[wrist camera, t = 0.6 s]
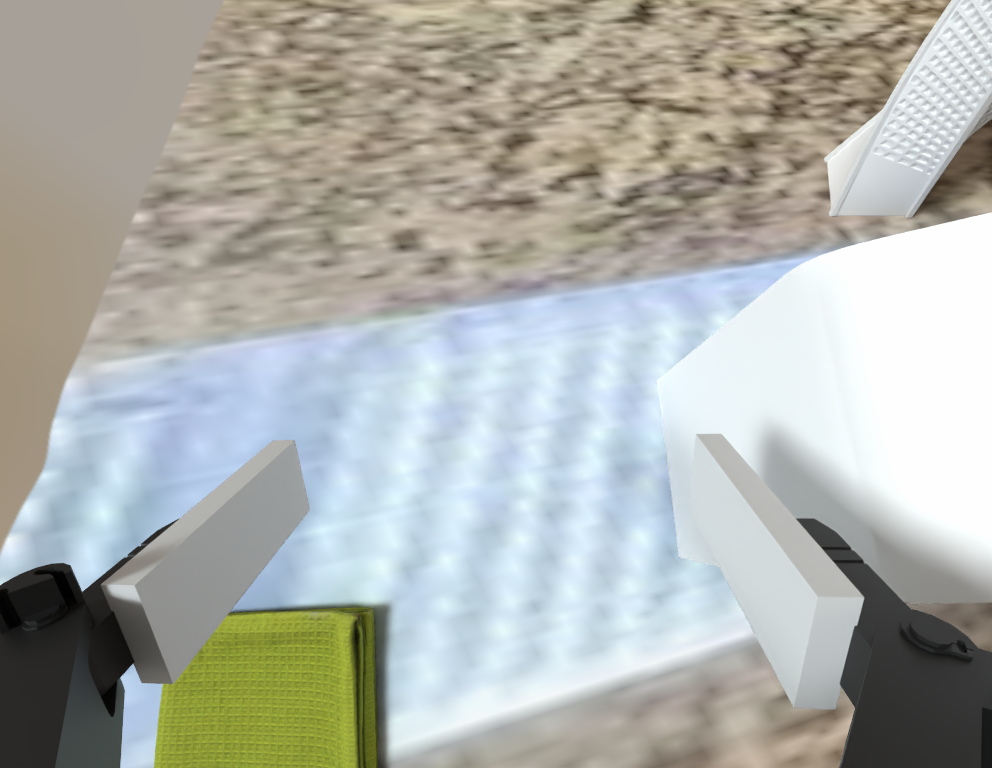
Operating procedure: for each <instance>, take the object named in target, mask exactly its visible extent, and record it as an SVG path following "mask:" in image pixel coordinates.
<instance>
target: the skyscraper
mask: <svg viewBox="0 0 992 768" xmlns="http://www.w3.org/2000/svg"><path fill="white" fill-rule="evenodd" d="M991 119H992V0H951V2H950V3H949V5H948V6H947V8H946V9H945V11H944V12H943V14H942V15H941V17H940V18H939V20H938V21H937V23H936V24H935V25H934V27H933V28H932V30H931V31H930V33H929V34H928V36H927V37H926V39H925V40H924V42H923V43H922V45H921V47H920V48H919V50H918V51H917V53H916V55H915V56H914V58H913V59H912V61H911V63H910V64H909V66H908V67H907V69H906V71H905V72H904V74H903V75H902V77H901V79H900V80H899V82H898V84H897V86H896V87H895V89H894V91H893V93H892V94H891V96H890V98H889V99H888V101H887V103H886V105H885V106H884V108H883V110H882V111H881V112H879V113H878V114H877V115H876V116H874V117H873V118H872V119H871V120H870V121H868V122H867V123H866V124H865V125H864V126H862V127H861V128H860V129H859V130H858V131H856V132H855V133H854V134H853V135H852V136H850V137H849V138H848V139H847V140H845V141H844V142H843V143H842V144H841V145H839V146H838V147H837V148H836V149H835V150H833V151H832V152H831V153H830V154H829V155H827V156H826V157H825V158H824V160H825V162H827V166H828V177H829V188H830V199H831V210H830V212H829V216H906V219H907V218H911V217H912V216H913V215H914V214H915V212H916V211H917V209H918V208H919V206H920V205H921V203H922V202H923V201H924V199H925V198H926V196H927V195H928V193H929V192H930V190H931V189H932V187H933V186H934V185H935V183H936V182H937V180H938V179H939V177H940V176H941V174H942V173H943V172H944V170H945V169H946V167H947V166H948V164H949V163H950V161H951V160H952V159H953V157H954V156H955V154H956V153H957V151H958V150H959V148H960V147H961V146H962V144H963V143H964V142H965V141H966V140H967V139H968V138H969V137H970V136H971V135H972V134H973V133H975V132H976V131H977V130H978V129H979V128H981V127H982V126H983V125H984V124H986V123H987V122H988V121H990V120H991Z"/></svg>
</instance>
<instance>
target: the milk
mask: <svg viewBox="0 0 992 768" xmlns="http://www.w3.org/2000/svg"><path fill="white" fill-rule="evenodd" d="M657 384H658V392H659V400H660V408H661V416H662V424H663V432H664V440H665V448H666V456H667V464H668V472H669V480H670V488H671V496H672V504H673V512H674V520H675V528H676V536H677V544H678V552H679V558H683V559H688V560H692V561H696V562H701V563H705V564H709V565H714V566H718V564H717V562H716V560H715V558H714V556H713V554H712V552H711V551H710V549H709V547H708V545H707V543H706V541H705V539H704V537H703V535H702V534H701V532H700V530H699V528H698V526H697V524H696V522H695V520H694V518H693V517H692V515H691V513H690V511H689V502H690V491H691V480H692V470H693V459H694V448H695V438H696V434H722V435H723V436H724V437H725V438H726V439H727V441H728V442H729V443H730V444H731V445H732V446H733V447H734V449H735V450H736V451H737V452H738V453H739V454H740V455H741V457H742V458H743V459H744V460H745V461H746V462H747V463H748V465H749V466H750V467H751V468H752V469H753V470H754V471H755V473H756V474H757V475H758V476H759V477H760V478H761V480H762V481H763V482H764V483H765V484H766V485H767V486H768V488H769V489H770V490H771V491H772V492H773V493H774V494H775V496H776V497H777V498H778V499H779V500H780V501H781V502H782V504H783V505H784V506H785V507H786V508H787V509H788V510H789V512H790V513H791V514H792V515H793V516H794V517H795V518H814V519H816V520H818V521H819V522H821V523H823V524H824V525H826V526H827V527H829V528H831V529H832V530H834V531H836V532H837V533H838V534H839V535H840V536H841V537H842V538H843V539H844V541H845V542H846V543H847V544H848V545H849V546H850V547H851V550H854V551H855V552H856V553H857V554H858V555H859V556H860V557H861V558H862V559H863V560H864V564H868V565H869V566H870V567H871V569H872V570H873V571H874V572H875V573H876V574H877V575H878V576H879V577H880V578H881V579H882V580H883V581H884V582H885V583H886V584H887V585H888V586H889V587H890V588H891V589H892V590H893V591H894V592H895V593H896V594H897V595H898V596H899V598H900V599H901V600H902V601H903V602H904V603H934V604H941V603H992V213H987V214H983V215H979V216H974V217H970V218H966V219H961V220H957V221H953V222H949V223H944V224H940V225H936V226H931V227H927V228H923V229H919V230H914V231H910V232H906V233H901V234H897V235H893V236H888V237H884V238H880V239H876V240H872V241H868V242H864V243H860V244H856V245H852V246H849V247H845V248H842V249H839V250H836V251H833V252H830V253H827V254H823V255H821V256H818V257H816V258H814V259H811V260H809V261H807V262H804V263H802V264H800V265H799V266H797V267H796V268H794V269H793V270H791V271H790V272H788V273H787V274H785V275H784V276H783V277H782V278H781V279H779V280H778V281H777V282H776V283H774V284H773V285H772V286H771V287H770V288H768V289H767V290H766V291H765V292H764V293H762V294H761V295H760V296H759V297H757V298H756V299H755V300H754V301H753V302H751V303H750V304H749V305H748V306H747V307H745V308H744V309H743V310H742V311H741V312H739V313H738V314H737V315H736V316H734V317H733V318H732V319H731V320H730V321H728V322H727V323H726V324H725V325H724V326H722V327H721V328H720V329H719V330H718V331H716V332H715V333H714V334H713V335H711V336H710V337H709V338H708V339H707V340H705V341H704V342H703V343H702V344H701V345H699V346H698V347H697V348H696V349H695V350H693V351H692V352H691V353H690V354H688V355H687V356H686V357H685V358H684V359H682V360H681V361H680V362H679V363H678V364H676V365H675V366H674V367H673V368H671V369H670V370H669V371H668V372H667V373H665V374H664V375H663V376H662V377H661V378H659V379H658V380H657ZM718 567H719V566H718Z"/></svg>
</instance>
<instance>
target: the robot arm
mask: <svg viewBox="0 0 992 768" xmlns="http://www.w3.org/2000/svg"><path fill="white" fill-rule="evenodd" d="M309 510H310V508H309V503H308V499H307V494H306V489H305V485H304V480H303V476H302V471H301V467H300V462H299V458H298V453H297V449H296V444H295V440H276V441H272V442H271V443H270V444H268V445H267V446H266V447H265V448H264V449H262V450H261V451H260V452H259V453H258V454H256V455H255V456H254V457H253V458H252V459H250V460H249V461H248V462H247V463H246V464H245V465H243V466H242V467H241V468H240V469H239V470H237V471H236V472H235V473H234V474H233V475H231V476H230V477H229V478H228V479H227V480H225V481H224V482H223V483H222V484H221V485H219V486H218V487H217V488H216V489H215V490H213V491H212V492H211V493H210V494H209V495H207V496H206V497H205V498H204V499H203V500H201V501H200V502H199V503H198V504H197V505H195V506H194V507H193V508H192V509H191V510H189V511H188V512H187V513H186V514H185V515H183V516H182V517H181V518H180V519H177V520H176V521H174V522H172V523H170V524H168V525H167V526H165V527H163V528H161V529H159V530H157V531H156V532H155V533H154V534H153V535H151V536H150V537H149V538H148V539H146V540H145V541H144V542H143V543H142V544H141V546H138V547H137V548H135V549H134V550H133V551H132V552H131V553H129V554H128V557H127V558H123V559H122V560H121V561H120V562H118V563H117V564H116V565H115V566H113V567H112V568H111V569H110V570H109V571H107V572H106V573H105V574H104V575H102V576H101V577H100V578H99V579H98V580H96V581H95V582H94V583H93V584H91V585H90V586H89V587H88V588H87V589H85V590H84V591H83V592H82V591H81V588H80V586H79V584H78V581H77V579H76V577H75V575H74V572H73V570H72V568H71V566H70V565H67V564H64V563H57V564H49V565H45V566H41V567H37V568H34V569H32V570H29V571H27V572H24V573H22V574H19V575H18V576H16V577H14V578H12V579H10V580H8V581H7V582H5V583H3V584H2V585H0V768H120V759H121V743H122V726H123V709H124V693H125V690H124V687H123V684H122V681H121V679H120V677H121V676H122V675H123V674H124V673H125V672H126V671H127V669H128V668H129V667H130V666H131V665H132V664H133V663H134V666H135V668H136V670H137V673H138V675H139V678H140V680H141V682H142V683H158V684H174V683H175V681H176V680H177V679H178V678H179V676H180V675H181V674H182V672H183V671H184V670H185V669H186V667H187V666H188V665H189V663H190V662H191V661H192V660H193V658H194V657H195V656H196V655H197V653H198V652H199V651H200V649H201V648H202V647H203V646H204V644H205V643H206V642H207V640H208V639H209V638H210V637H211V635H212V634H213V633H214V632H215V630H216V629H217V628H218V626H219V625H220V624H221V623H222V621H223V620H224V619H225V617H226V616H227V615H228V614H229V612H230V611H231V610H232V609H233V607H234V606H235V605H236V603H237V602H238V601H239V600H240V598H241V597H242V596H243V595H244V593H245V592H246V591H247V589H248V588H249V587H250V586H251V584H252V583H253V582H254V580H255V579H256V578H257V577H258V575H259V574H260V573H261V572H262V570H263V569H264V568H265V566H266V565H267V564H268V563H269V561H270V560H271V559H272V557H273V556H274V555H275V554H276V552H277V551H278V550H279V549H280V547H281V546H282V545H283V543H284V542H285V541H286V540H287V538H288V537H289V536H290V534H291V533H292V532H293V531H294V529H295V528H296V527H297V526H298V524H299V523H300V522H301V520H302V519H303V518H304V517H305V515H306V514H307V513H308V512H309ZM689 511H690V513H691V515H692V517H693V518H694V520H695V522H696V524H697V526H698V528H699V530H700V532H701V534H702V535H703V537H704V539H705V541H706V543H707V545H708V547H709V549H710V551H711V552H712V554H713V556H714V558H715V560H716V562H717V564H718V566H719V568H720V569H721V571H722V573H723V575H724V577H725V579H726V581H727V583H728V585H729V586H730V588H731V590H732V592H733V594H734V596H735V598H736V600H737V602H738V603H739V605H740V607H741V609H742V611H743V613H744V615H745V617H746V619H747V620H748V622H749V624H750V626H751V628H752V630H753V632H754V634H755V636H756V637H757V639H758V641H759V643H760V645H761V647H762V649H763V651H764V653H765V654H766V656H767V658H768V660H769V662H770V664H771V666H772V668H773V669H774V671H775V673H776V675H777V677H778V679H779V681H780V683H781V685H782V686H783V688H784V690H785V692H786V694H787V696H788V698H789V700H790V702H791V703H792V705H793V707H794V708H809V709H836V705H837V701H838V698H839V694H840V690H841V687H842V688H843V690H844V691H845V693H846V694H847V696H848V697H849V699H850V700H851V702H852V703H853V705H854V707H855V711H854V715H853V718H852V722H851V725H850V729H849V733H848V736H847V740H846V743H845V748H844V752H843V755H842V759H841V763H840V767H839V768H992V652H988V651H984V650H981V649H978V648H977V646H976V645H975V644H974V643H973V642H972V641H971V640H970V639H969V637H968V636H966V635H965V634H963V633H962V632H961V631H959V630H958V629H956V628H955V627H954V626H952V625H951V624H949V623H947V622H945V621H943V620H941V619H939V618H937V617H935V616H932V615H929V614H926V613H923V612H919V611H916V610H911V609H910V608H909V607H908V606H907V605H906V604H905V603H904V602H903V601H902V600H901V599H900V598H899V596H898V595H897V594H896V593H895V592H894V591H893V590H892V589H891V588H890V587H889V586H888V585H887V584H886V583H885V582H884V581H883V580H882V579H881V578H880V577H879V576H878V575H877V574H876V573H875V572H874V571H873V570H872V569H871V567H870V566H869V565H868V564H864V560H863V559H862V558H861V557H860V556H859V555H858V554H857V553H856V552H855V551H854V550H851V547H850V546H849V545H848V544H847V543H846V542H845V541H844V539H843V538H842V537H841V536H840V535H839V534H838V533H837V532H836V531H834V530H832V529H831V528H829V527H827V526H826V525H824V524H823V523H821V522H819V521H818V520H816V519H814V518H795V517H794V516H793V515H792V514H791V513H790V512H789V510H788V509H787V508H786V507H785V506H784V505H783V504H782V502H781V501H780V500H779V499H778V498H777V497H776V496H775V494H774V493H773V492H772V491H771V490H770V489H769V488H768V486H767V485H766V484H765V483H764V482H763V481H762V480H761V478H760V477H759V476H758V475H757V474H756V473H755V471H754V470H753V469H752V468H751V467H750V466H749V465H748V463H747V462H746V461H745V460H744V459H743V458H742V457H741V455H740V454H739V453H738V452H737V451H736V450H735V449H734V447H733V446H732V445H731V444H730V443H729V442H728V441H727V439H726V438H725V437H724V436H723V435H722V434H696V438H695V448H694V459H693V470H692V480H691V491H690V502H689Z"/></svg>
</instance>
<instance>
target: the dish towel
mask: <svg viewBox="0 0 992 768" xmlns="http://www.w3.org/2000/svg"><path fill="white" fill-rule="evenodd" d="M374 625H375V623H374V612H373V609H371V608H362V607H357V608H330V609H312V610H297V611H282V612H278V611H260V612H258V611H257V612H240V613H229V614H228V615H227V616H226V617H225V619H224V620H223V621H222V623H221V624H220V625H219V626H218V628H217V629H216V630H215V632H214V633H213V634H212V635H211V637H210V638H209V639H208V640H207V642H206V643H205V644H204V646H203V647H202V648H201V649H200V651H199V652H198V653H197V655H196V656H195V657H194V658H193V660H192V661H191V662H190V663H189V665H188V666H187V667H186V669H185V670H184V671H183V672H182V674H181V675H180V676H179V678H178V679H177V680H176V681H175V683H174V684H163V687H162V695H161V703H160V710H159V718H158V728H157V739H156V749H155V762H154V768H378V725H377V719H378V712H377V689H376V662H375V628H374Z"/></svg>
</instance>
